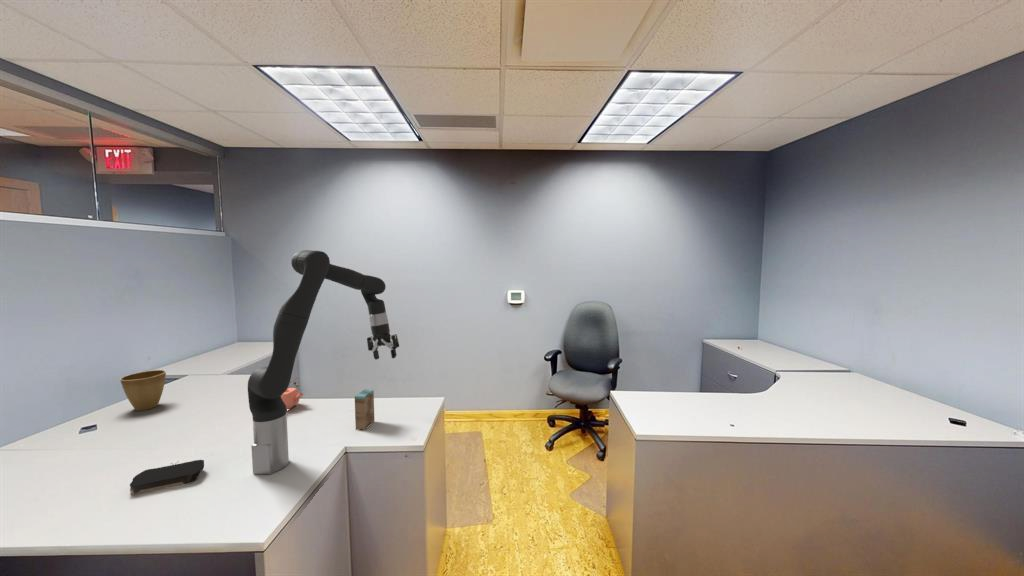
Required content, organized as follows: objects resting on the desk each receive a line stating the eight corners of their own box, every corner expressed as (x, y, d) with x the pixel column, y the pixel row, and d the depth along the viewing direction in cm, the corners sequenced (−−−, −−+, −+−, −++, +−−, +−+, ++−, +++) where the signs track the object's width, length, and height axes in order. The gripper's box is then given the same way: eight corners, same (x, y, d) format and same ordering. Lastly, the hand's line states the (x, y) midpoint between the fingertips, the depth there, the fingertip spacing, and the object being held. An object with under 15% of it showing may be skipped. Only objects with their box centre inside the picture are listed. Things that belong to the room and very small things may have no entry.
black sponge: (207, 468, 115) (206, 458, 115) (196, 483, 107) (196, 471, 107) (141, 481, 108) (140, 470, 108) (124, 498, 100) (123, 486, 100)
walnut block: (365, 430, 141) (364, 396, 140) (355, 429, 141) (354, 396, 140) (374, 421, 149) (373, 389, 148) (365, 421, 149) (364, 389, 148)
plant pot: (137, 403, 169) (135, 371, 168) (175, 400, 174) (173, 368, 173) (113, 416, 155) (110, 381, 154) (155, 411, 160) (152, 377, 159)
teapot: (303, 408, 163) (303, 388, 163) (273, 415, 155) (272, 394, 155) (298, 401, 172) (297, 382, 171) (269, 407, 164) (268, 387, 163)
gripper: (360, 326, 152) (366, 362, 153) (388, 323, 149) (395, 360, 150) (370, 322, 159) (376, 356, 161) (398, 320, 156) (404, 354, 157)
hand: (385, 358), depth 155 cm, fingers open, 8 cm apart
